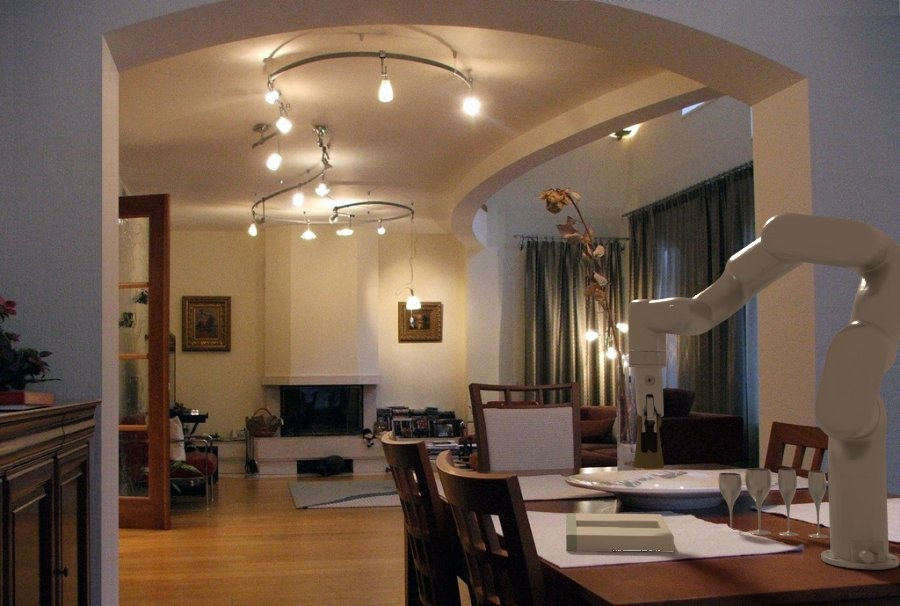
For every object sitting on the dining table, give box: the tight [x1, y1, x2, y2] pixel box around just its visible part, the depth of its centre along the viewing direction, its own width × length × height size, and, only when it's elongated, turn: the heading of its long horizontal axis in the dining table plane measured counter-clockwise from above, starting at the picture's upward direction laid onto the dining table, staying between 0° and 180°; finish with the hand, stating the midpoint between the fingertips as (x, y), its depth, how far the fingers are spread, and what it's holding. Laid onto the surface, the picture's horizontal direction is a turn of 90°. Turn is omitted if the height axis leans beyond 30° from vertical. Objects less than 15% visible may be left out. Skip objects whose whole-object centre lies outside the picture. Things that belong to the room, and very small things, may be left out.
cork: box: [633, 413, 665, 470], centre depth 189 cm, size 6×6×11 cm
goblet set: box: [717, 467, 830, 539], centre depth 192 cm, size 28×6×13 cm, turn 67°
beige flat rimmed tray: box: [565, 512, 675, 552], centre depth 188 cm, size 24×20×3 cm
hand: (648, 450), depth 189 cm, fingers closed on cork, 3 cm apart
